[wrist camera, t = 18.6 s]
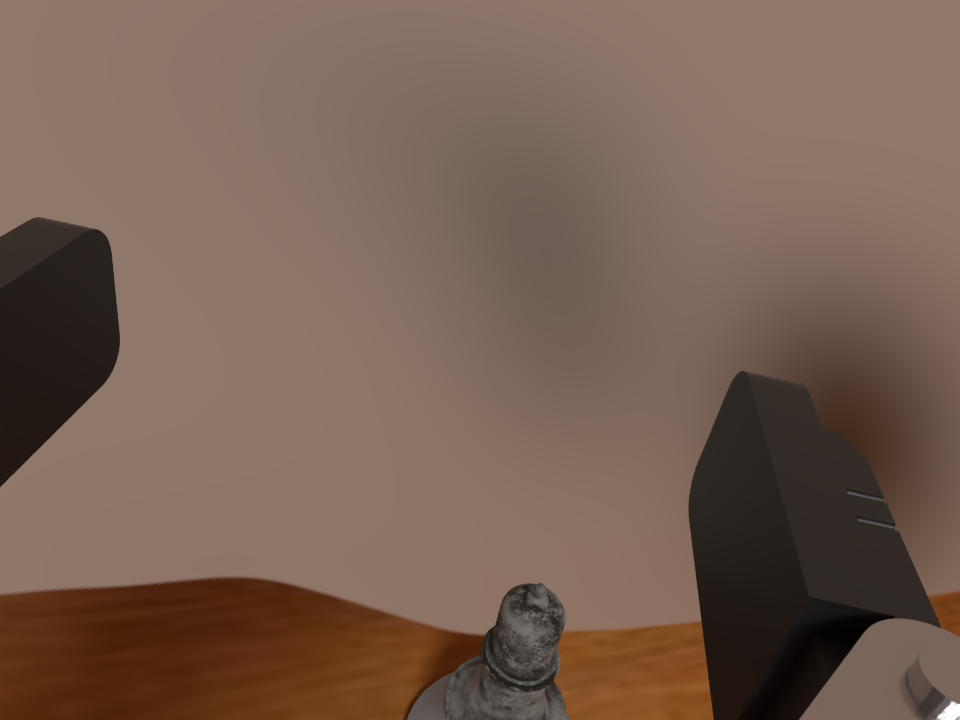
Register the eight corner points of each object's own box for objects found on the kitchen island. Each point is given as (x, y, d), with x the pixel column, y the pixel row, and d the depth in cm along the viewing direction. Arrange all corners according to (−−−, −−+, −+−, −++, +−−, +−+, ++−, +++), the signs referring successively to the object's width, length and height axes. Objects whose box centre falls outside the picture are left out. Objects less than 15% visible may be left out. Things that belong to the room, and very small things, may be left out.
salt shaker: (504, 677, 42) (551, 516, 36) (574, 770, 38) (640, 608, 32) (411, 726, 39) (444, 559, 33) (478, 833, 35) (529, 668, 29)
